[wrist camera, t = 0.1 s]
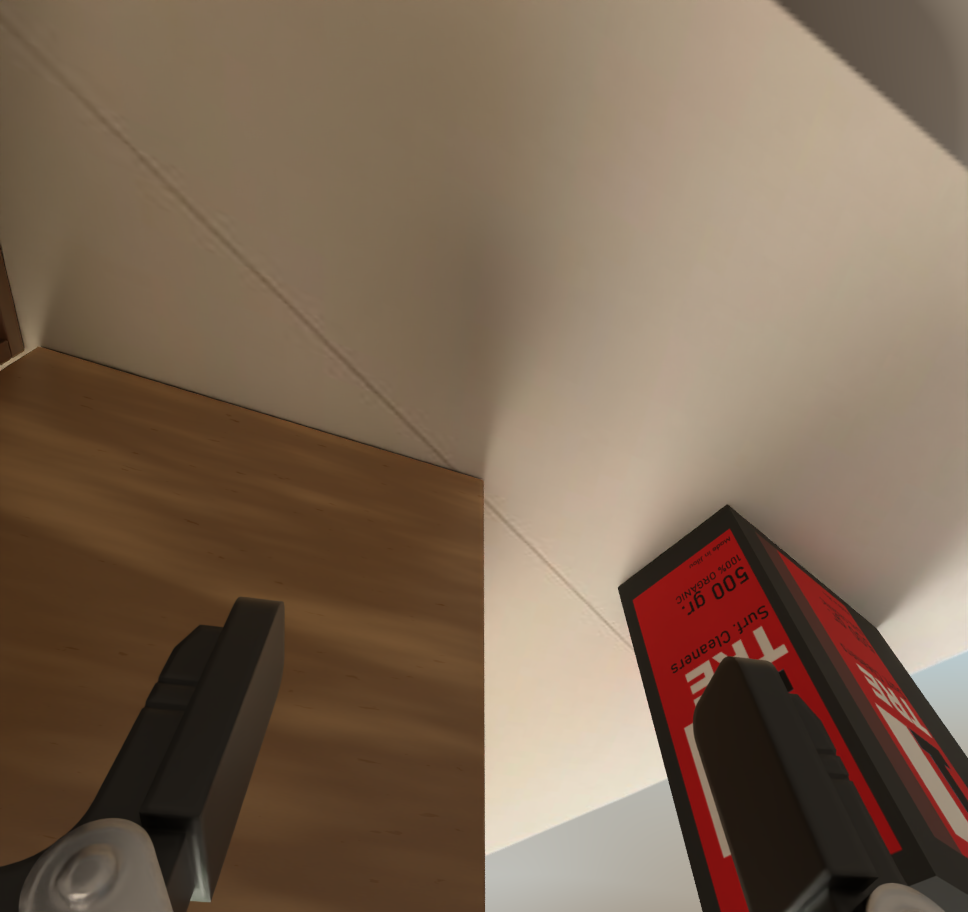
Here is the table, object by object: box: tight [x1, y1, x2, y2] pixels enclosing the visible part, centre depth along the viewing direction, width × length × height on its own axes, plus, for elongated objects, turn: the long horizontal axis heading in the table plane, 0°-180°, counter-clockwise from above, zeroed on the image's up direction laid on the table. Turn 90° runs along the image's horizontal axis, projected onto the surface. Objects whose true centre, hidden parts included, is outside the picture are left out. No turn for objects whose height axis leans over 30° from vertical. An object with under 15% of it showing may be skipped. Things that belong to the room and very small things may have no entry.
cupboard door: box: [0, 347, 485, 912], centre depth 24 cm, size 7×24×26 cm, turn 70°
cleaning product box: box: [618, 505, 968, 912], centre depth 33 cm, size 16×9×20 cm, turn 50°
